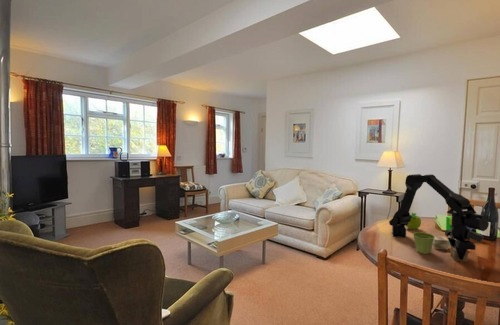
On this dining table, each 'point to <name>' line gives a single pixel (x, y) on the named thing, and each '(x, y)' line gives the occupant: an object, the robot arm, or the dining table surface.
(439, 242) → the oak block
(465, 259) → the walnut block
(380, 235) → the dining table surface
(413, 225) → the fruit
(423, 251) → the plant pot
